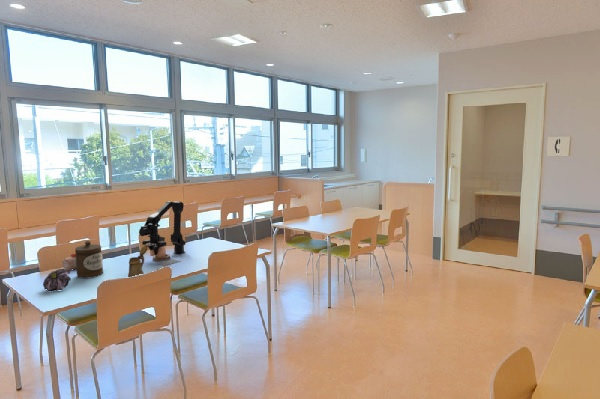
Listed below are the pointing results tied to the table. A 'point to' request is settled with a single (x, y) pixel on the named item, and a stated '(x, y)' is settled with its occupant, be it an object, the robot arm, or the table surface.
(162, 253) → the peach rounded piece
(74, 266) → the food item
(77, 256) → the wooden container
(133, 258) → the wooden mug
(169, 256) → the collar
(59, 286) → the decorative flower
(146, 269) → the table surface
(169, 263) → the mat
